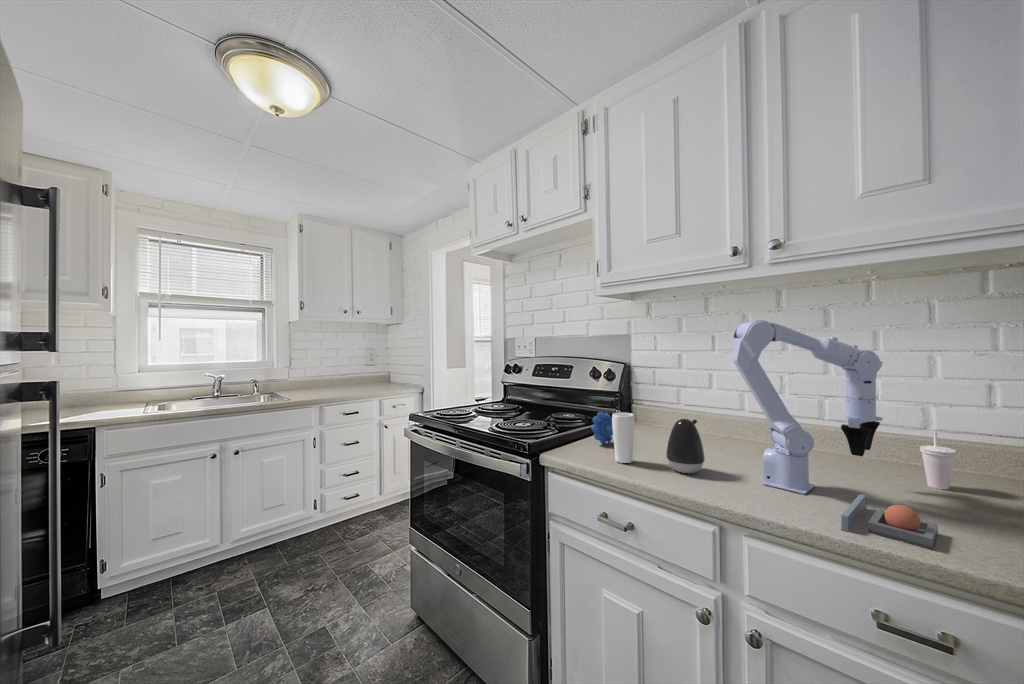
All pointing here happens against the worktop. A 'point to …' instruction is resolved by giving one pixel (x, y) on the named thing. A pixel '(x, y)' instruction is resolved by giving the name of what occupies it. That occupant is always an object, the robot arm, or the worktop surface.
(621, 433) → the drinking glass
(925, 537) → the tray
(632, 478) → the worktop surface
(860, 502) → the low wall
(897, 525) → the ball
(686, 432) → the black egg-shaped device
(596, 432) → the grapes
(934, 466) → the smoothie
